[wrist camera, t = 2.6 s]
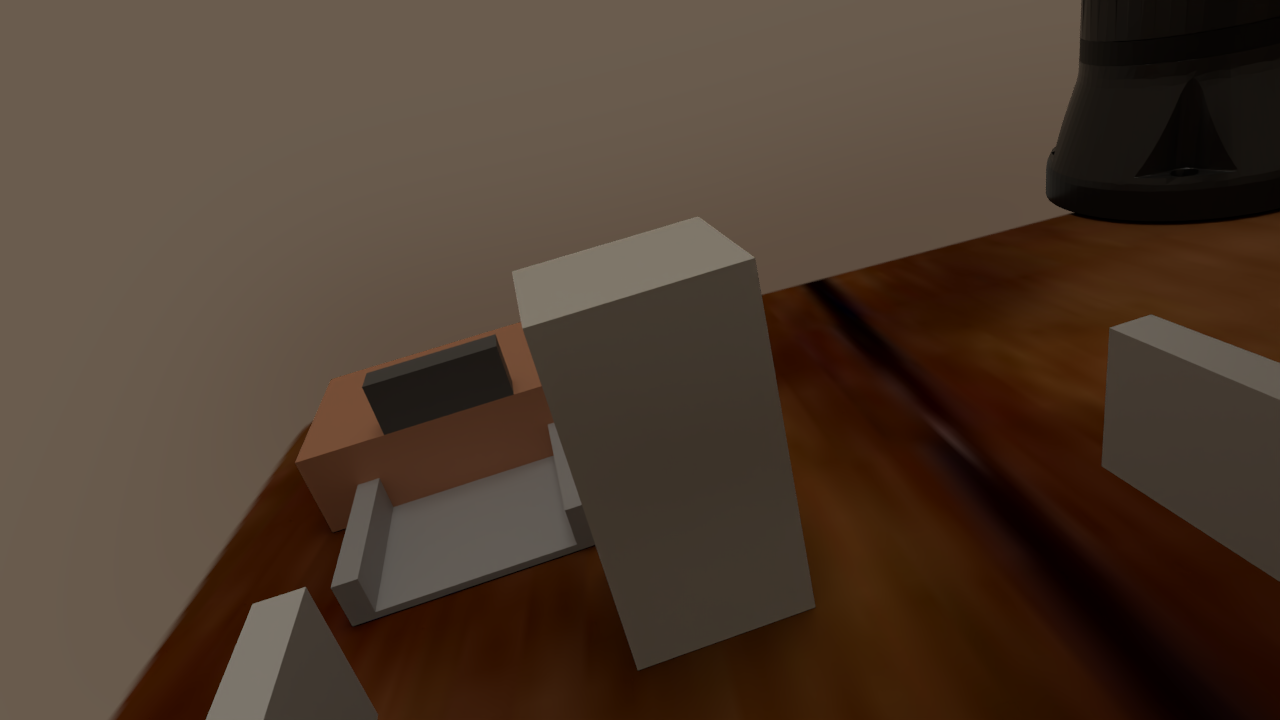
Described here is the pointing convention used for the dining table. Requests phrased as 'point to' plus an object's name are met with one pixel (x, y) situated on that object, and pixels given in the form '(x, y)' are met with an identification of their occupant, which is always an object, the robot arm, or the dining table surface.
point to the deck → (440, 474)
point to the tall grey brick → (672, 432)
